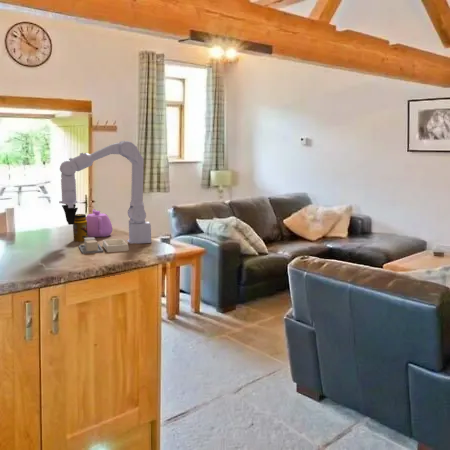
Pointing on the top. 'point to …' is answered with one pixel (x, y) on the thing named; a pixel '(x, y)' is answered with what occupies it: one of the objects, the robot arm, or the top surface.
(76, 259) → the top surface
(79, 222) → the condiment
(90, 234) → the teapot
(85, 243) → the light gray cube
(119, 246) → the cream dish
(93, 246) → the beige cube
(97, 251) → the slate tray
